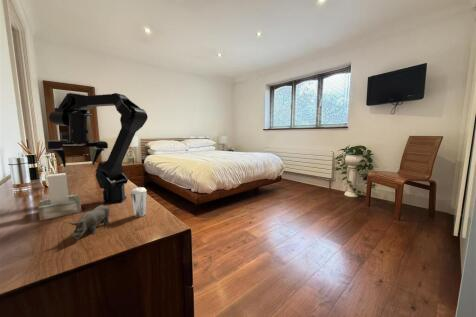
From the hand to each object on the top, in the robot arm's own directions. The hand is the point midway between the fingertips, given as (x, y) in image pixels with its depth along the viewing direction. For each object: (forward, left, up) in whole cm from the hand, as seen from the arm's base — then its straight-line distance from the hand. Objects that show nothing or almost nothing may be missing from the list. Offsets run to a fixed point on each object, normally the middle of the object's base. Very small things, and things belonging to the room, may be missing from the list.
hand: (79, 165), depth 79 cm
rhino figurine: (-18, +33, -14) cm, 40 cm away
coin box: (0, +14, -14) cm, 20 cm away
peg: (0, +14, -14) cm, 20 cm away
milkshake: (-27, +24, -14) cm, 39 cm away
